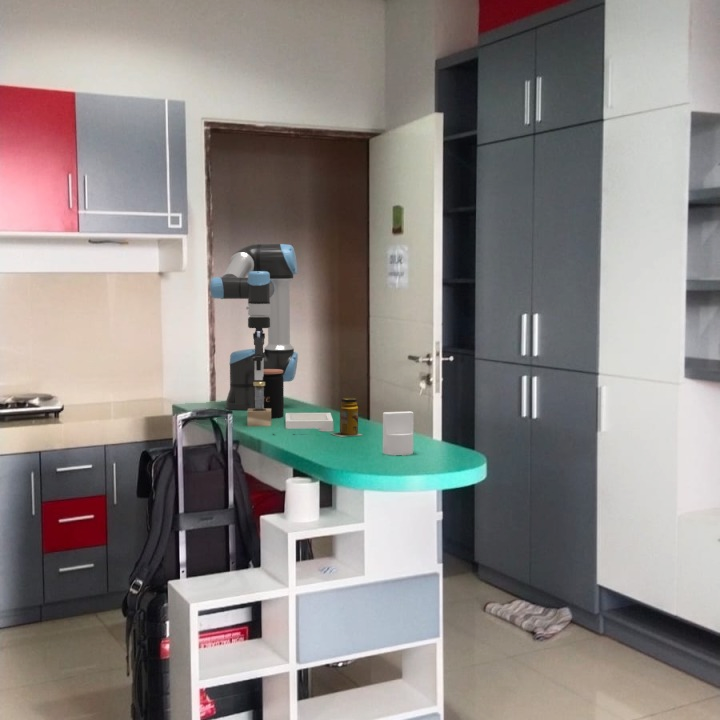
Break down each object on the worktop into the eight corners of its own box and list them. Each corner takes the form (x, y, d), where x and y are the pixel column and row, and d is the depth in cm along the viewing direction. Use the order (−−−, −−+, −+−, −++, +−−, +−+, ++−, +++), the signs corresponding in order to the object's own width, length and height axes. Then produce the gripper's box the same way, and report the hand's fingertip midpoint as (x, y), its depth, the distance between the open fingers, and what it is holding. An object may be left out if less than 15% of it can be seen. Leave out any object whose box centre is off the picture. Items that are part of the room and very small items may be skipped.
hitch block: (248, 425, 332) (248, 408, 332) (271, 425, 333) (271, 408, 332) (247, 429, 324) (247, 411, 324) (270, 428, 325) (270, 411, 324)
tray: (285, 422, 339) (285, 413, 339) (330, 422, 341) (330, 412, 340) (285, 431, 319) (285, 421, 319) (333, 431, 321) (333, 420, 320)
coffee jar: (248, 418, 349) (248, 369, 347) (273, 416, 355) (273, 368, 354) (263, 422, 340) (263, 372, 339) (289, 419, 347) (289, 370, 345)
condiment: (363, 435, 313) (363, 399, 312) (341, 437, 309) (341, 400, 308) (351, 432, 319) (351, 396, 318) (329, 434, 315) (329, 398, 314)
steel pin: (253, 423, 330) (253, 381, 329) (265, 423, 331) (265, 381, 329) (253, 425, 326) (253, 382, 325) (265, 425, 327) (265, 382, 325)
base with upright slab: (388, 456, 276) (388, 415, 275) (378, 450, 284) (379, 411, 283) (417, 454, 278) (417, 414, 277) (407, 449, 287) (407, 410, 286)
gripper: (249, 315, 337) (249, 375, 339) (246, 317, 313) (246, 381, 314) (270, 315, 338) (270, 375, 340) (269, 317, 313) (269, 381, 315)
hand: (259, 378), depth 327 cm, fingers open, 13 cm apart
